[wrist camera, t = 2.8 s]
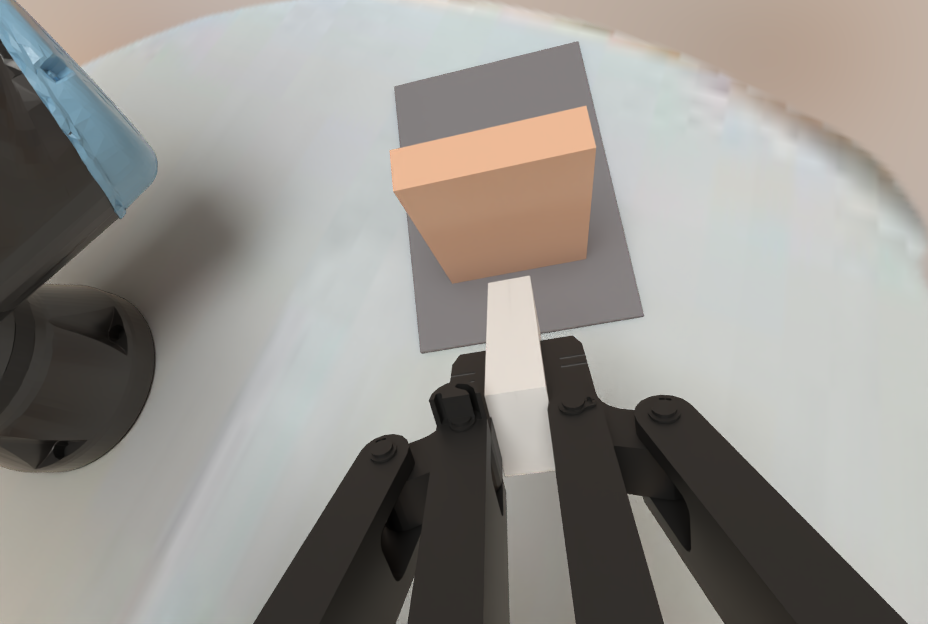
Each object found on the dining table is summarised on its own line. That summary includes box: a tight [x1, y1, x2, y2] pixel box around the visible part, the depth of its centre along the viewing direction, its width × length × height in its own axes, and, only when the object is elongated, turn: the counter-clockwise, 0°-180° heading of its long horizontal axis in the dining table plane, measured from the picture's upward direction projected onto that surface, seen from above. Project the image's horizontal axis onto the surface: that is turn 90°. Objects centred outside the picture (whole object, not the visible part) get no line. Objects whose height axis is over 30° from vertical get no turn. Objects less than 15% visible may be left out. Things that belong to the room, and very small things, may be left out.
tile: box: [390, 106, 596, 284], centre depth 32 cm, size 3×10×14 cm, turn 97°
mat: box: [394, 41, 644, 353], centre depth 41 cm, size 24×16×1 cm, turn 7°
